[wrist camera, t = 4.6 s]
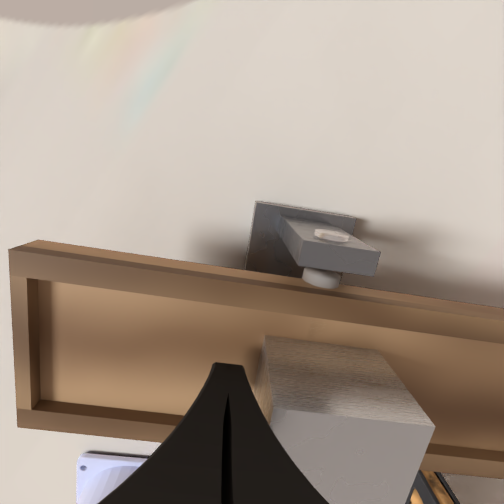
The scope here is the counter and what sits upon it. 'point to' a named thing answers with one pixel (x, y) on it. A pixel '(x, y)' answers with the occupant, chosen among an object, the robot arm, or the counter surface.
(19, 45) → the counter surface
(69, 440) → the counter surface
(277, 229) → the stand
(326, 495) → the block
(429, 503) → the ammunition clip
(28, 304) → the wooden tray
